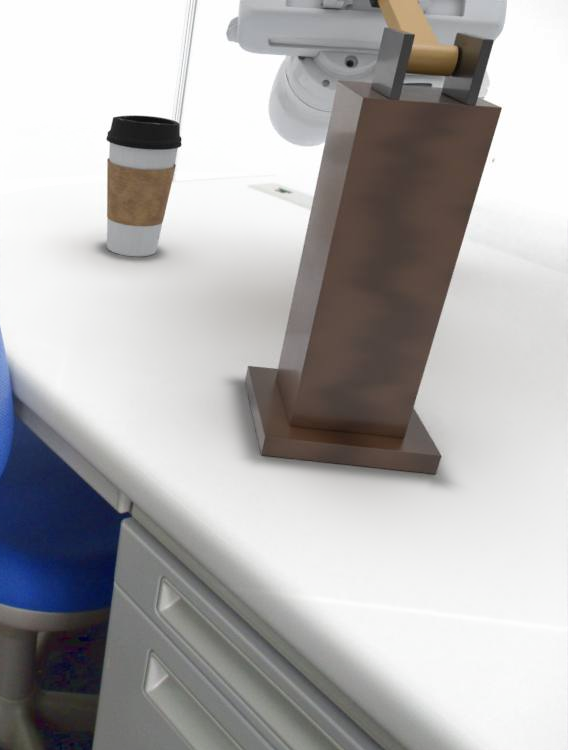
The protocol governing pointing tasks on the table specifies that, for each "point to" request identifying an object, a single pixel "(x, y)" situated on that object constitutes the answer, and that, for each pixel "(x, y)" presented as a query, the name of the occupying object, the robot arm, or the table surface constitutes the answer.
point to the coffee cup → (139, 181)
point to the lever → (419, 38)
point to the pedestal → (377, 264)
